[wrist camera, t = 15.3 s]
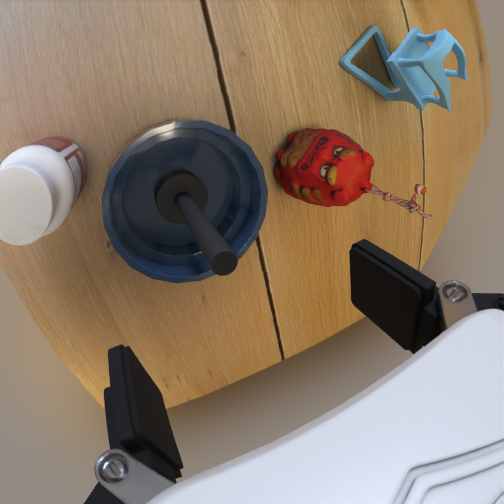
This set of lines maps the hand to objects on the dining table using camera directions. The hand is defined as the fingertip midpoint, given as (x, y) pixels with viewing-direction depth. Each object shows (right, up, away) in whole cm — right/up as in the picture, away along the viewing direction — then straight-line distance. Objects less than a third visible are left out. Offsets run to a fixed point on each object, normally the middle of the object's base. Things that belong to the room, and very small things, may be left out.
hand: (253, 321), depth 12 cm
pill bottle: (-17, +10, +11) cm, 22 cm away
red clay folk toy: (+5, +12, +20) cm, 24 cm away
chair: (+14, +24, +18) cm, 33 cm away
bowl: (-7, +8, +16) cm, 19 cm away
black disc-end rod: (-7, +8, +16) cm, 19 cm away
